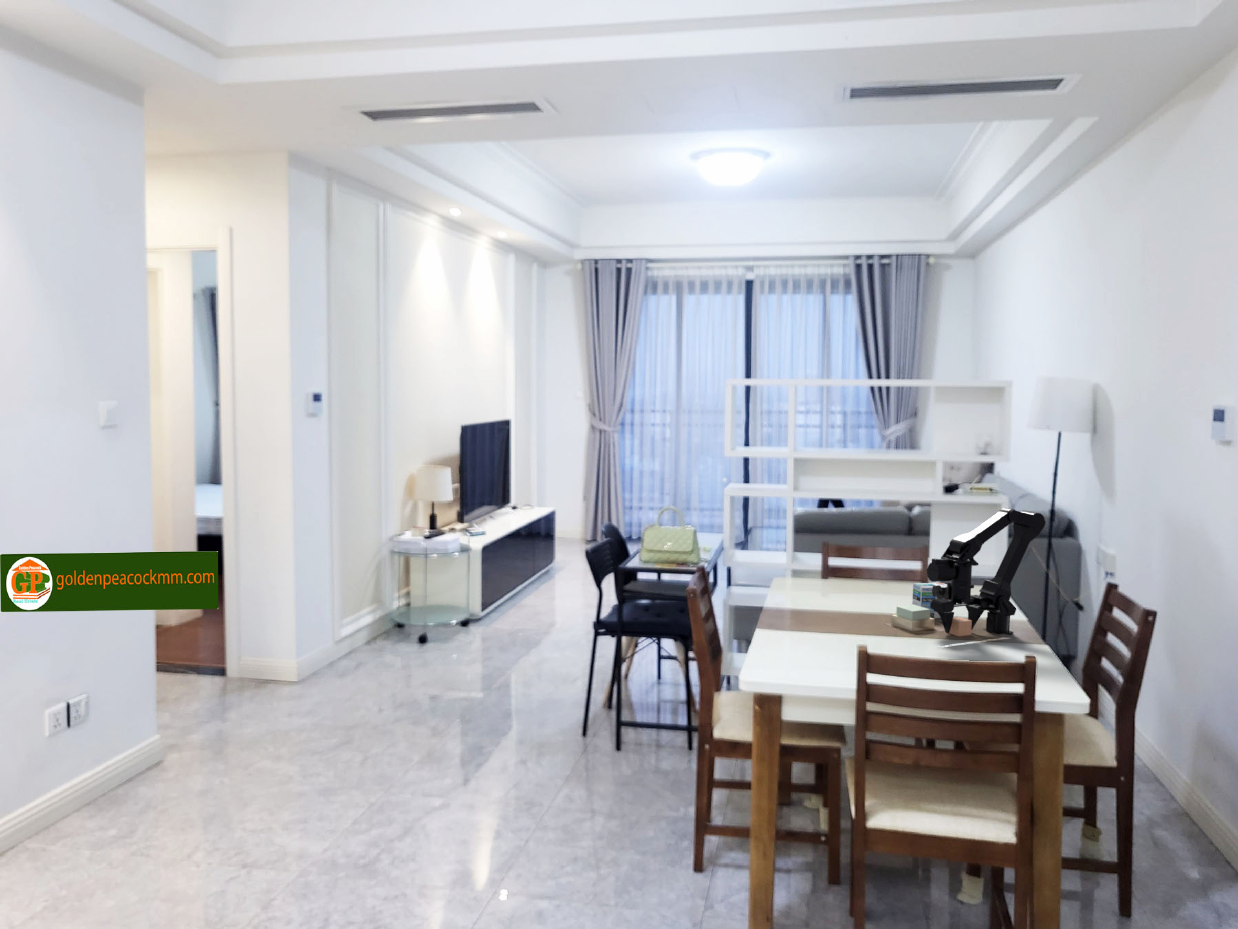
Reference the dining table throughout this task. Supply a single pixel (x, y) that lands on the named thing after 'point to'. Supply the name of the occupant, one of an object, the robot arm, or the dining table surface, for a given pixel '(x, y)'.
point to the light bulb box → (925, 596)
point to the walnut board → (937, 628)
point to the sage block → (913, 612)
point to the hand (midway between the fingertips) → (958, 631)
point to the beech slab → (912, 623)
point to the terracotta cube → (960, 626)
